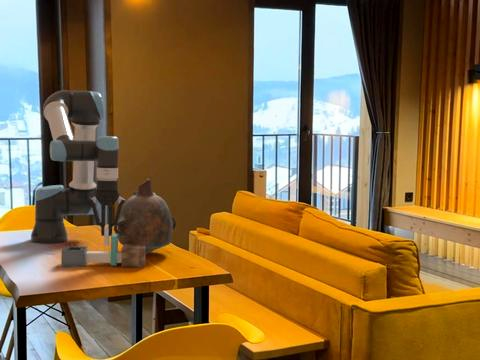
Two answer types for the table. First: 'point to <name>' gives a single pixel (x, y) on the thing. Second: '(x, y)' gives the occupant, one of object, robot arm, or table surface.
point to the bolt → (106, 254)
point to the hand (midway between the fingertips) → (106, 244)
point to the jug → (145, 220)
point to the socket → (133, 255)
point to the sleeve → (73, 257)
